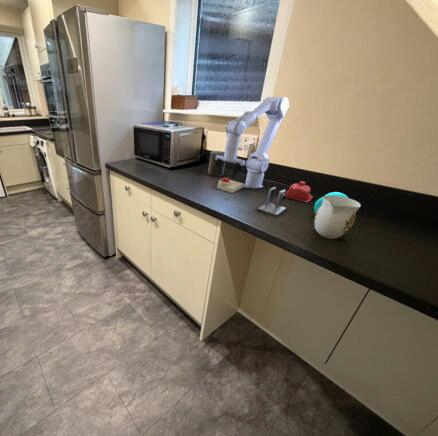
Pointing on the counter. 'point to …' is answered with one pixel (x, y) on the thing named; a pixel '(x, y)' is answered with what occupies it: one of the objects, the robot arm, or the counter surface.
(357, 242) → the counter surface
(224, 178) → the button
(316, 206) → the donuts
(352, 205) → the pitcher
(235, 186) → the button box
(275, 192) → the lever
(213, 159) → the pillar candle
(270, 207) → the bracket
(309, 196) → the butter dish
